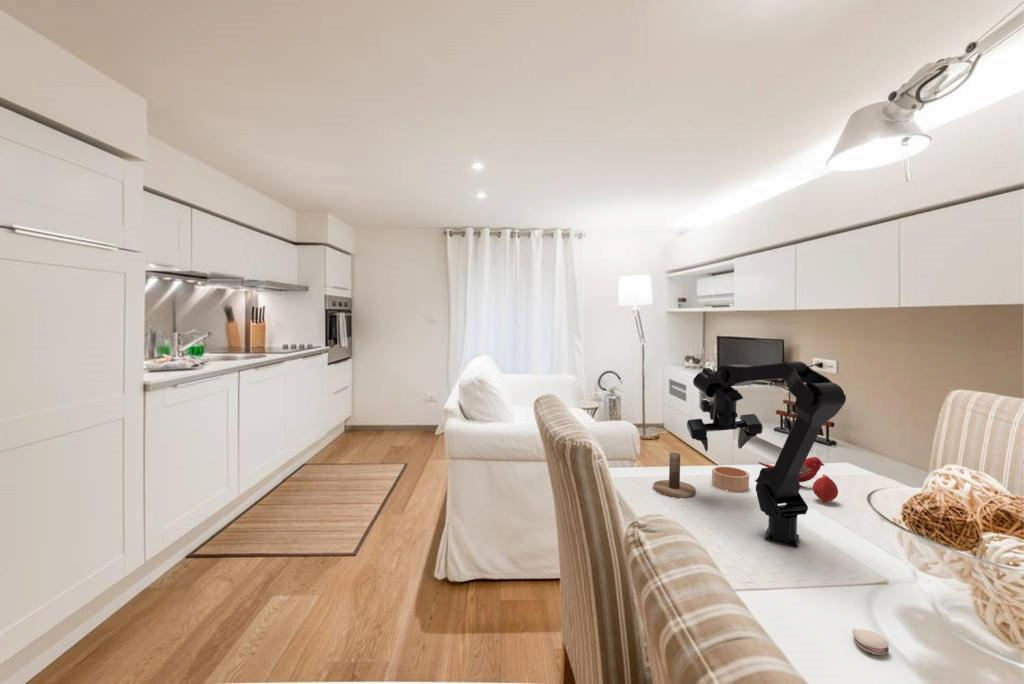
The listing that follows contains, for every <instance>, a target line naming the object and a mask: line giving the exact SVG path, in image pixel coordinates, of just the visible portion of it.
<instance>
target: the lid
mask: <svg viewBox="0 0 1024 684" xmlns="http://www.w3.org/2000/svg"><path fill="white" fill-rule="evenodd" d="M668 468H669V474H668V479H664V480H663V479H662V480H657V481H655V482H654V483H653V486H652V488H653V489H652V490H653V491H654V490H655V491H656V492H655V491H654V492H655V493H657V492H658V493H660V494H662V495H661V496H663V495H665V496H664V497H666V496H669V497H668V498H671V497H675V498H674V499H680V498H684V499H690V498H689V497H691V498H693V496H694V495H695V494H697V490H696V488H695V486H693V485H691V484H690V483H687V482H684V481H681V454H680V453H679V452H670V453H669V467H668ZM658 493H657V494H658ZM660 494H659V495H660ZM695 496H696V495H695ZM695 496H694V497H695Z"/></svg>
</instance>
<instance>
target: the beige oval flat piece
mask: <svg viewBox="0 0 1024 684" xmlns="http://www.w3.org/2000/svg"><path fill="white" fill-rule="evenodd" d="M852 635H853V637H854V641H855V643H857V645H858V646H859V647H860V649H862V650H864V651H865V652H867V653H869V652H870V653H869V654H871V653H872V654H871V655H874V654H876V655H875V656H883V655H885V654H887V653H888V652H889V650H890V649H889V645H890V644H889V642H888V639H886V638H885V637H883V636H882V635H880V634H878V633H876V632H874V631H871V630H868V629H862V628H852ZM884 652H885V653H884ZM883 653H884V654H883Z"/></svg>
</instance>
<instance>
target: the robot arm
mask: <svg viewBox="0 0 1024 684" xmlns="http://www.w3.org/2000/svg"><path fill="white" fill-rule="evenodd" d="M768 380H769V381H771V380H772V381H773V380H783V381H785V382H786V385H787V388H788V392H790V394H792V395H793V397H795V401H794V408H795V411H796V412H795V413H796V418H795V420H794V422H793V425H792V426H791V429H790V431H789V433H788V436H787V438H786V440H785V441H784V444H783V447H782V449H781V451H780V453H779V455H778V457H777V459H776V461H775V464H774V465H773V466H774V467H769V468H768V467H762V468H761V470H760V471H759V475H758V477H757V478H756V479H755V483H756V484H755V492H756V497H757V500H758V504H759V508H760V509H759V510H760V511H761V512H762V513H764V514H765V515H766V516H768V525H767V526H768V527H767V528H766V532H765V535H764V539H765V540H766V541H769V542H773V543H778V544H782V545H785V546H790V547H794V548H798V547H799V540H800V535H799V534H798V516H800V515H806V514H807V513H808V510H809V506H808V505H807V503H806V501H805V499H804V498H803V496H802V495H801V493H800V492H799V491H800V485H801V484H800V483H801V482H799V479H798V474H799V472H800V470H801V468H802V466H803V464H804V462H805V460H806V459H808V455H809V453H810V451H811V450H812V448H813V446H814V444H815V441H816V439H817V438H818V435H819V433H820V431H821V429H822V427H823V426H824V424H826V423H827V422H829V421H830V420H831V419H832V418H833V417H835V416H836V415H837V414H838V413H839V411H840V410H841V409H842V407H843V406H844V405H845V403H846V400H847V396H846V394H845V392H844V390H843V387H841V386H840V385H838V383H836V382H833V381H831V380H830V379H829V378H828V377H827V376H825V375H823V374H822V373H819V372H817V371H816V370H814V369H812V368H811V367H810V366H809V365H807V364H806V363H804V362H802V361H800V360H799V361H795V360H794V361H784V362H781V363H780V362H779V363H771V364H770V363H769V364H761V365H749V364H721V365H719V366H718V369H717V370H716V371H713V370H712V368H710V367H703V369H702V371H699V373H697V374H696V375H695V377H693V381H692V384H693V385H694V388H695V387H696V389H697V390H699V391H700V392H701V393H703V395H705V396H706V397H707V398H713V400H708V399H702V400H700V410H701V412H702V413H707V414H709V418H710V421H711V420H712V422H709V423H704V421H703V419H702V418H695V419H691V418H690V419H688V420H687V421H686V428H687V430H688V433H689V434H690V437H691V439H693V440H696V441H698V442H699V441H700V442H701V443H702V446H703V448H704V451H705V452H708V450H709V443H708V442H709V441H708V437H707V436H708V432H719V431H731V430H737V429H739V431H738V432H739V433H738V437H737V438H738V440H737V447H738V449H739V450H740V449H742V448H743V447H744V446H745V445H746V444H747V443H748V442H749V441H750V440H751V439H752V438H754V437H756V436H757V435H760V434H762V433H763V431H764V430H763V424H762V421H760V419H759V417H758V416H757V415H756V414H755V413H747V414H741V415H740V417H739V418H740V419H737V418H738V413H737V402H738V401H740V400H743V398H744V397H743V395H742V394H741V393H740V392H739V390H737V389H736V388H734V387H744V386H747V385H751V384H753V383H755V382H757V381H768Z"/></svg>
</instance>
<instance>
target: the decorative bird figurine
mask: <svg viewBox="0 0 1024 684" xmlns="http://www.w3.org/2000/svg"><path fill="white" fill-rule="evenodd" d="M757 464H759V465H761V466H763V467H765V468H769V467H774V466H775V465H771V464H768V463H763V462H757ZM823 466H824V467H825V464H824V463H823V462H822V460H821V459H820V458H819V457H816V456H813V457H807V458H806V460H805V462H804V464H803V466H802V468H801V470H800V472H799V474H798V479H799V483H805V482H808V481H810V480H813V479H814V478H815V477H816V476H817V473H818V472H819V471H820V470H821V467H823ZM800 487H802V488H806V486H804V485H802V484H800Z"/></svg>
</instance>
